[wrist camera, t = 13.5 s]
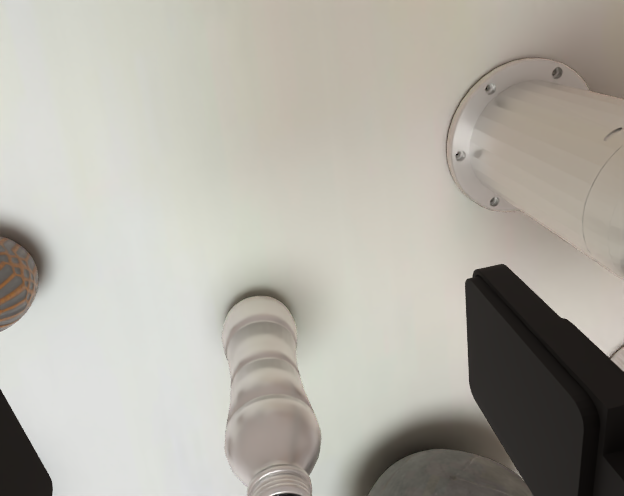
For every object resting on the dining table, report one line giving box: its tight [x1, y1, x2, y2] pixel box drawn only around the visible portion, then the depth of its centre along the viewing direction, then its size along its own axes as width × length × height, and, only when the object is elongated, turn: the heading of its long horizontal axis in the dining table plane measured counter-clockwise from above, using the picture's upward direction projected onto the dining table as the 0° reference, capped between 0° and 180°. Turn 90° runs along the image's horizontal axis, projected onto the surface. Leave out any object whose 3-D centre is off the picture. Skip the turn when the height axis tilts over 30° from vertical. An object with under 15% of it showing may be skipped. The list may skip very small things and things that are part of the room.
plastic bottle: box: [222, 296, 321, 496], centre depth 38 cm, size 6×7×20 cm
